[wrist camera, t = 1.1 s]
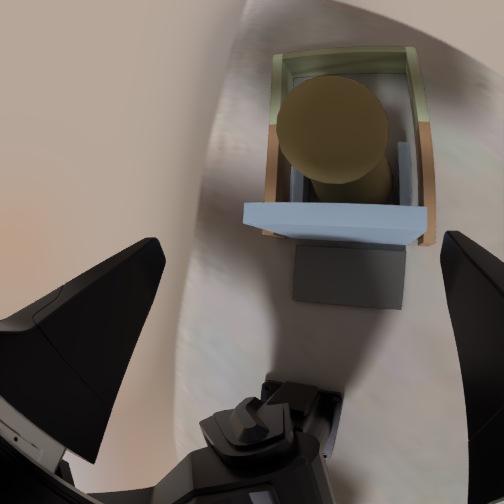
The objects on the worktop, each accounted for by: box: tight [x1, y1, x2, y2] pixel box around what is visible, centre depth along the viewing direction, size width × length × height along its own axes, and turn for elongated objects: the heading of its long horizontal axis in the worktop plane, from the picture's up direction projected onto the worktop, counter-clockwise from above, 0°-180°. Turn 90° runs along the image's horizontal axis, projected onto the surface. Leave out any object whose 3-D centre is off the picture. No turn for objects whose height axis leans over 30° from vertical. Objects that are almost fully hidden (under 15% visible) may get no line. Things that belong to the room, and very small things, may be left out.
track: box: [262, 46, 436, 246], centre depth 20 cm, size 15×11×3 cm
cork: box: [276, 75, 393, 205], centre depth 16 cm, size 6×6×11 cm
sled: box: [243, 142, 427, 245], centre depth 17 cm, size 7×8×9 cm
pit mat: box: [292, 245, 406, 310], centre depth 21 cm, size 4×8×1 cm, turn 87°
